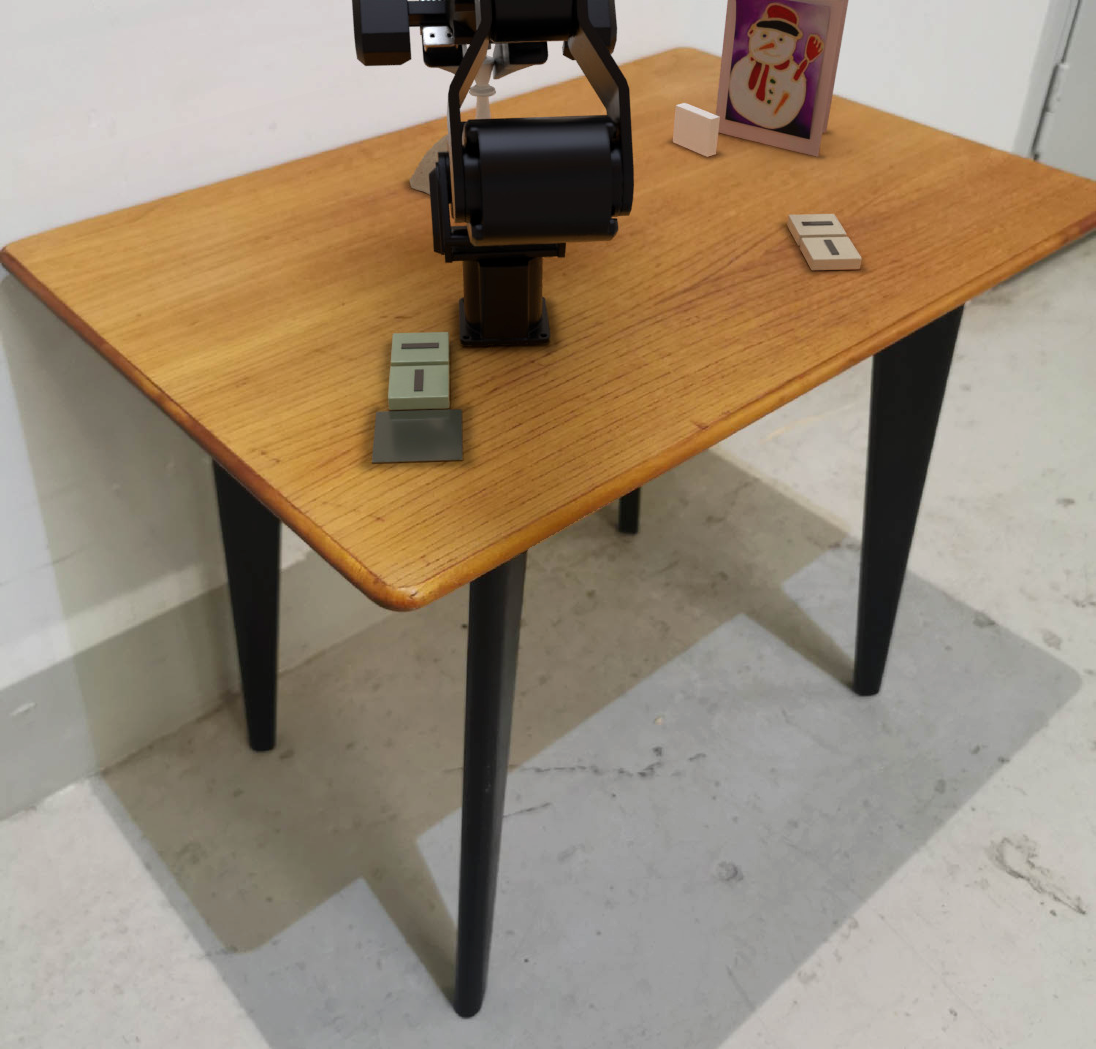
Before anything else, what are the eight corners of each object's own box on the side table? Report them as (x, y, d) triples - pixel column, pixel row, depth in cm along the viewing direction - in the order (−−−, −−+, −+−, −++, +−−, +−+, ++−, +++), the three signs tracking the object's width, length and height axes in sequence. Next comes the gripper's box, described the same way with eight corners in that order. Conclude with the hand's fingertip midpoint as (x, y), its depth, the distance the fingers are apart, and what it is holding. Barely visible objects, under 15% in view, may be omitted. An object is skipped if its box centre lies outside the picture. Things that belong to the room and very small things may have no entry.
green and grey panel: (462, 460, 70) (461, 445, 69) (371, 463, 69) (370, 448, 69) (460, 343, 81) (460, 329, 80) (382, 345, 81) (381, 331, 80)
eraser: (707, 157, 109) (711, 119, 106) (672, 142, 112) (675, 105, 109) (716, 154, 109) (720, 116, 107) (681, 139, 112) (684, 102, 110)
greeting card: (709, 134, 113) (726, -28, 104) (743, 113, 118) (762, -43, 108) (814, 159, 108) (841, -7, 99) (845, 136, 113) (874, -25, 104)
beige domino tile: (860, 269, 90) (862, 257, 90) (811, 270, 90) (813, 258, 90) (832, 224, 97) (834, 212, 96) (786, 225, 97) (788, 213, 96)
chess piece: (484, 177, 89) (480, 46, 83) (441, 161, 92) (435, 32, 86) (526, 160, 92) (526, 32, 86) (484, 145, 95) (481, 20, 89)
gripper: (618, -162, 75) (588, -24, 91) (337, -160, 74) (356, -20, 89) (632, -6, 74) (600, 107, 90) (347, 0, 72) (364, 114, 88)
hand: (480, 74), depth 89 cm, fingers closed on chess piece
